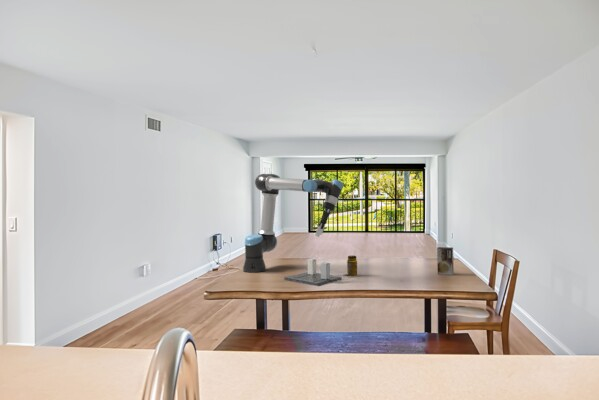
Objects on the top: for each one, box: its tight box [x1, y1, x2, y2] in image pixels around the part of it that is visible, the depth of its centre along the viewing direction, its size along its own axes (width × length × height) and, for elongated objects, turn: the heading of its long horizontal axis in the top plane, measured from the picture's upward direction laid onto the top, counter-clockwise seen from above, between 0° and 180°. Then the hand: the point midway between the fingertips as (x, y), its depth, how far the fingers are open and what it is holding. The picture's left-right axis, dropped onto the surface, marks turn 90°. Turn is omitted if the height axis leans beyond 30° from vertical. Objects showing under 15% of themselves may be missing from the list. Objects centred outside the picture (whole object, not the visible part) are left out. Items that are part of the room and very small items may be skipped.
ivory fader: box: [307, 258, 318, 275], centre depth 262 cm, size 4×4×9 cm
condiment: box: [342, 255, 361, 278], centre depth 264 cm, size 7×8×12 cm
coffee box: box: [436, 246, 455, 276], centre depth 263 cm, size 9×6×16 cm
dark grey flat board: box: [283, 271, 343, 287], centre depth 254 cm, size 26×22×2 cm
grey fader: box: [320, 261, 331, 279], centre depth 248 cm, size 4×4×9 cm
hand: (318, 235), depth 264 cm, fingers open, 13 cm apart
